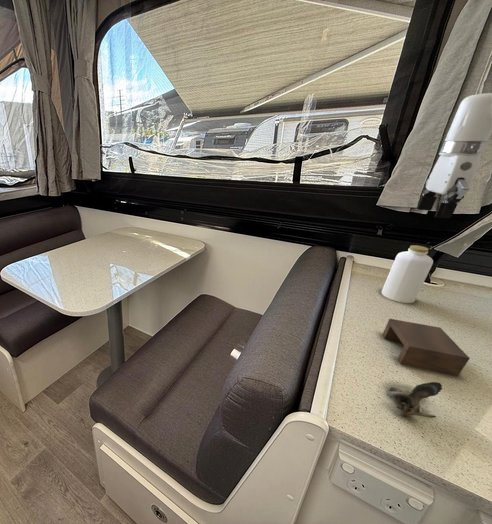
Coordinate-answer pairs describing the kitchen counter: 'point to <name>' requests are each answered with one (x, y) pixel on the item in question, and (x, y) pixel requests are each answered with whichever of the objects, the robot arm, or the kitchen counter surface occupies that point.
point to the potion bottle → (407, 274)
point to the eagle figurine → (415, 398)
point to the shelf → (426, 347)
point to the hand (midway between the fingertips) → (432, 213)
